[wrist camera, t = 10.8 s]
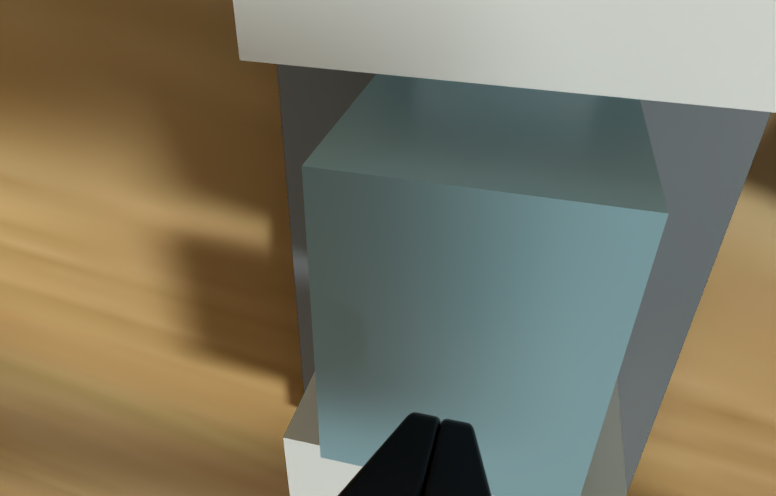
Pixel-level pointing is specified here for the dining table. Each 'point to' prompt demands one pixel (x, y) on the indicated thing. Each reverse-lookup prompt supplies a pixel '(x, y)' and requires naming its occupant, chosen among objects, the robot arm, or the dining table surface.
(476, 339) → the block
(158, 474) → the dining table surface
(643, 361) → the din board
